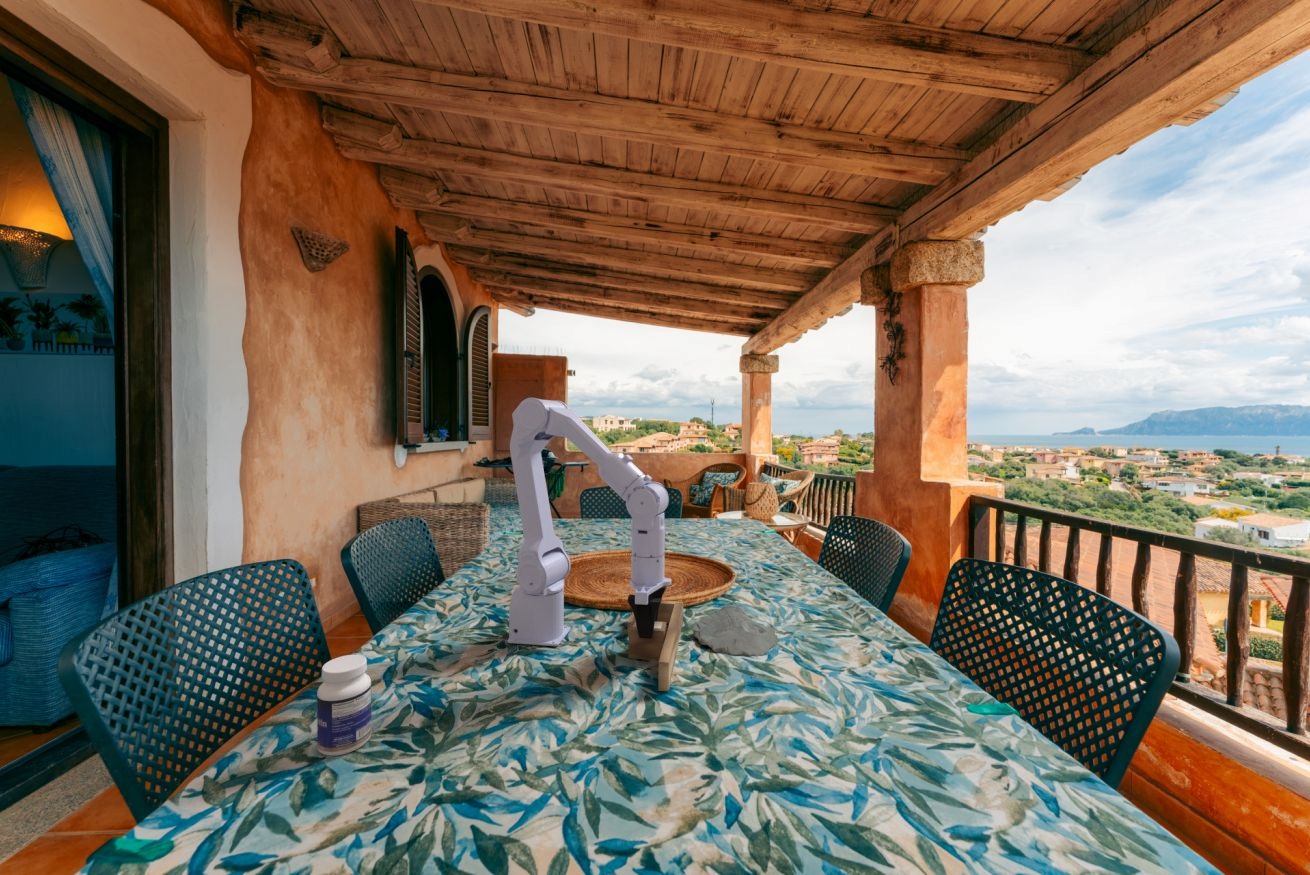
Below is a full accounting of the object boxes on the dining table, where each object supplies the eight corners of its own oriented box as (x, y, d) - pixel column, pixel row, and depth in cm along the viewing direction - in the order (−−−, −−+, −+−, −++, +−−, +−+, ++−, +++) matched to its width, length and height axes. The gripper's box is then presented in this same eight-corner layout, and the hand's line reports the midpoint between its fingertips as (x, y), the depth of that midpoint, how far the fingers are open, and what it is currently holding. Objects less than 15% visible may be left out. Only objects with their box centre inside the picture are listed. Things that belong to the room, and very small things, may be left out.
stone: (692, 640, 87) (694, 596, 102) (690, 662, 88) (692, 616, 103) (784, 650, 86) (773, 605, 101) (781, 673, 87) (770, 624, 101)
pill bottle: (315, 739, 63) (315, 659, 63) (368, 724, 66) (368, 648, 66) (318, 764, 58) (318, 678, 58) (374, 746, 62) (374, 665, 61)
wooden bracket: (603, 686, 76) (604, 658, 76) (635, 618, 104) (635, 597, 104) (668, 691, 75) (668, 662, 75) (683, 621, 102) (683, 600, 102)
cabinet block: (628, 658, 86) (628, 627, 86) (632, 647, 90) (632, 619, 90) (663, 660, 85) (663, 630, 85) (666, 650, 89) (666, 621, 89)
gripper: (666, 565, 80) (665, 651, 80) (675, 544, 94) (674, 617, 94) (622, 564, 81) (621, 648, 81) (637, 543, 95) (637, 615, 95)
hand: (647, 632), depth 88 cm, fingers closed on cabinet block, 4 cm apart
